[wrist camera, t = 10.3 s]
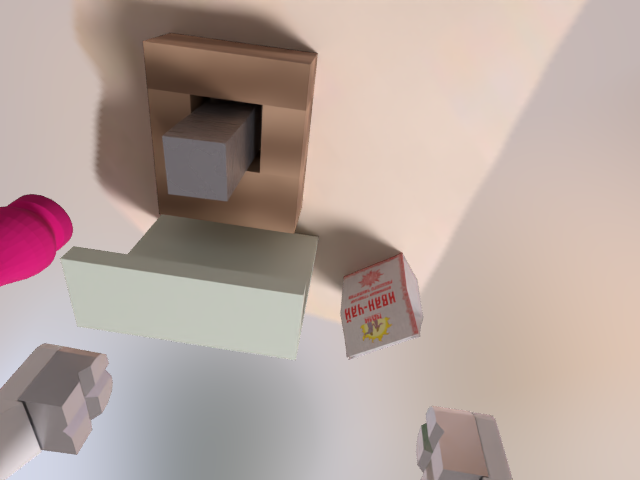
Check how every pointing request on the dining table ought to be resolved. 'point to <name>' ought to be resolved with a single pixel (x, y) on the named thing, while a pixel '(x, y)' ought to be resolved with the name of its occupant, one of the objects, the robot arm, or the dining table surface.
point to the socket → (245, 86)
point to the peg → (212, 148)
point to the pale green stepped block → (198, 286)
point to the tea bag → (380, 307)
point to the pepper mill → (30, 236)
